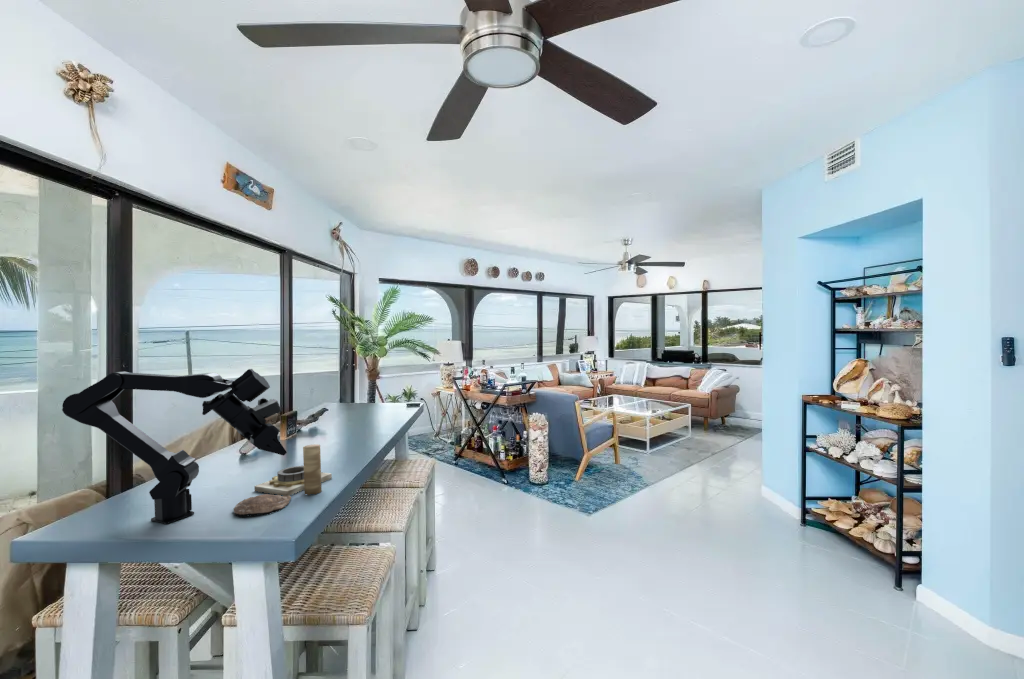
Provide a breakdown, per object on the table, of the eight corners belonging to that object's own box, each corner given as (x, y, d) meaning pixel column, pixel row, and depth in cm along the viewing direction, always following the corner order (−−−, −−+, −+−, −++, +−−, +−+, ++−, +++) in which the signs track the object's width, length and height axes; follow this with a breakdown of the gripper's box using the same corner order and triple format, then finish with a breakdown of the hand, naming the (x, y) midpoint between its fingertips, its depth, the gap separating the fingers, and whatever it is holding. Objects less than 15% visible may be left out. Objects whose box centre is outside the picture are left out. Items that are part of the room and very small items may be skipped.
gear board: (287, 496, 122) (287, 481, 122) (254, 491, 127) (254, 476, 127) (331, 478, 137) (331, 464, 136) (300, 474, 142) (300, 460, 141)
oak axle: (312, 495, 122) (311, 448, 122) (300, 493, 124) (299, 447, 123) (325, 490, 126) (323, 445, 126) (313, 488, 128) (312, 443, 128)
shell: (283, 515, 110) (283, 501, 110) (225, 522, 107) (225, 507, 107) (293, 498, 121) (292, 485, 121) (240, 504, 118) (240, 491, 118)
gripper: (271, 394, 111) (314, 433, 118) (253, 386, 124) (292, 422, 132) (233, 428, 105) (281, 467, 113) (218, 416, 119) (261, 452, 126)
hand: (280, 450), depth 121 cm, fingers open, 9 cm apart
